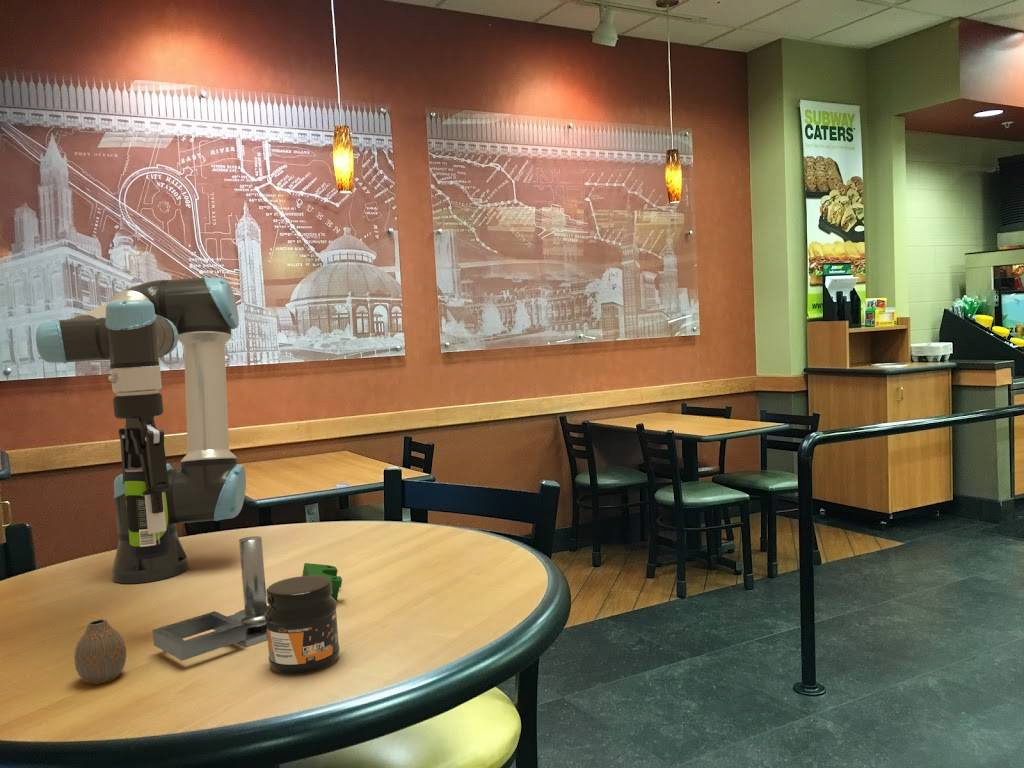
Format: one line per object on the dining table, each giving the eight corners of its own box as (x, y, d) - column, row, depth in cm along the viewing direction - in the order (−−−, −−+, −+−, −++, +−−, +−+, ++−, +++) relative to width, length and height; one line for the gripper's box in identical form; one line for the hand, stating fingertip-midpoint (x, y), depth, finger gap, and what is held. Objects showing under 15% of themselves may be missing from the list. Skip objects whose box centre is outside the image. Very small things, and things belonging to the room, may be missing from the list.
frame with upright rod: (154, 654, 130) (145, 556, 129) (266, 618, 144) (259, 529, 143) (182, 670, 123) (173, 566, 122) (297, 630, 137) (290, 537, 136)
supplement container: (273, 683, 116) (267, 601, 116) (265, 657, 126) (258, 581, 125) (347, 667, 120) (341, 587, 120) (333, 643, 130) (327, 570, 129)
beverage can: (179, 551, 139) (171, 464, 139) (151, 561, 134) (143, 470, 133) (150, 549, 142) (143, 464, 141) (122, 559, 136) (114, 470, 135)
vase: (88, 671, 125) (83, 615, 124) (135, 667, 125) (130, 611, 125) (68, 691, 118) (62, 632, 117) (117, 686, 118) (111, 627, 118)
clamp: (333, 626, 150) (343, 587, 147) (300, 624, 148) (310, 584, 145) (330, 585, 161) (340, 547, 158) (299, 582, 159) (309, 544, 156)
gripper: (94, 395, 140) (105, 527, 141) (135, 395, 127) (148, 541, 128) (138, 391, 145) (149, 518, 147) (183, 391, 132) (195, 532, 133)
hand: (149, 529), depth 137 cm, fingers closed on beverage can, 6 cm apart
